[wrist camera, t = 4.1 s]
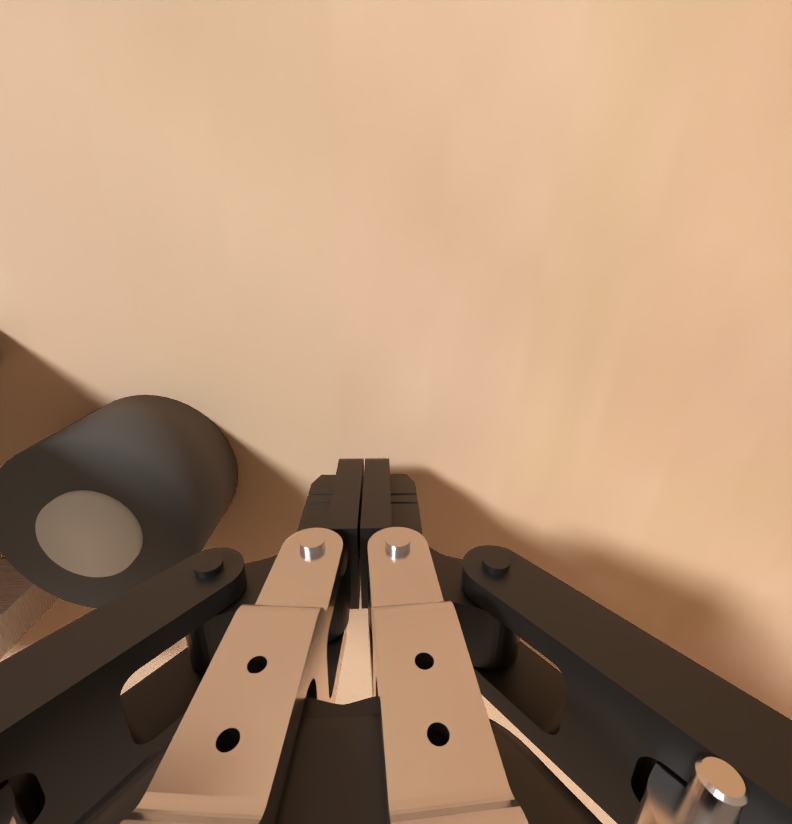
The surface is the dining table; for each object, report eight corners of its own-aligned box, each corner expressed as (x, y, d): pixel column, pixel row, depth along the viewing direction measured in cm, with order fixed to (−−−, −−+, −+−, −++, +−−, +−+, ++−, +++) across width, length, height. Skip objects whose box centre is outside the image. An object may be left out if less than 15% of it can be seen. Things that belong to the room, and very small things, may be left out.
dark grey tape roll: (100, 531, 15) (12, 618, 11) (63, 394, 13) (-54, 445, 10) (246, 530, 15) (204, 615, 11) (228, 394, 13) (173, 445, 10)
